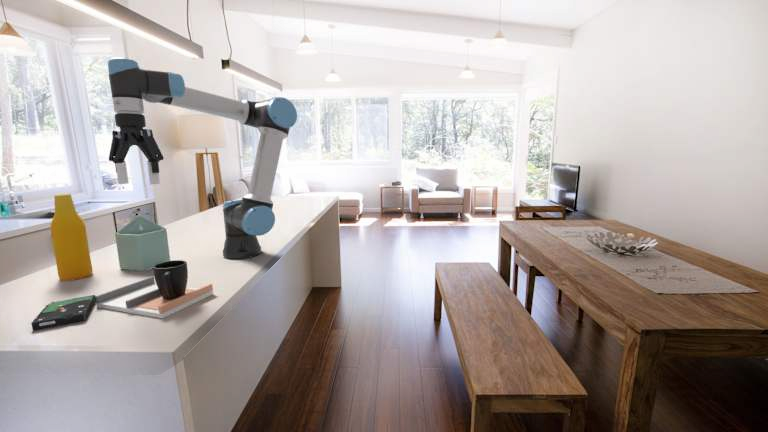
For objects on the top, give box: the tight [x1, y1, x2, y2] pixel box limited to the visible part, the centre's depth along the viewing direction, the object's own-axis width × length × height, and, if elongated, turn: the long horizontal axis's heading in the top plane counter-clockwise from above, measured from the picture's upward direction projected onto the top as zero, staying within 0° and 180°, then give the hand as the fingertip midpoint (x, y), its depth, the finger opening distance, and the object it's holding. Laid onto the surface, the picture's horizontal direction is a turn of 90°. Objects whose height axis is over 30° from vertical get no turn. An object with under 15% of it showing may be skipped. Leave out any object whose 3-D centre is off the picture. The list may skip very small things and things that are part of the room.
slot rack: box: [95, 276, 214, 319], centre depth 104 cm, size 17×24×3 cm
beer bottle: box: [50, 193, 93, 282], centre depth 125 cm, size 9×9×29 cm
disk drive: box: [31, 294, 96, 332], centre depth 96 cm, size 10×3×15 cm
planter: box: [114, 214, 171, 272], centre depth 134 cm, size 16×8×20 cm, turn 117°
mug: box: [152, 259, 189, 300], centre depth 101 cm, size 8×12×10 cm
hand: (139, 184), depth 113 cm, fingers open, 13 cm apart
